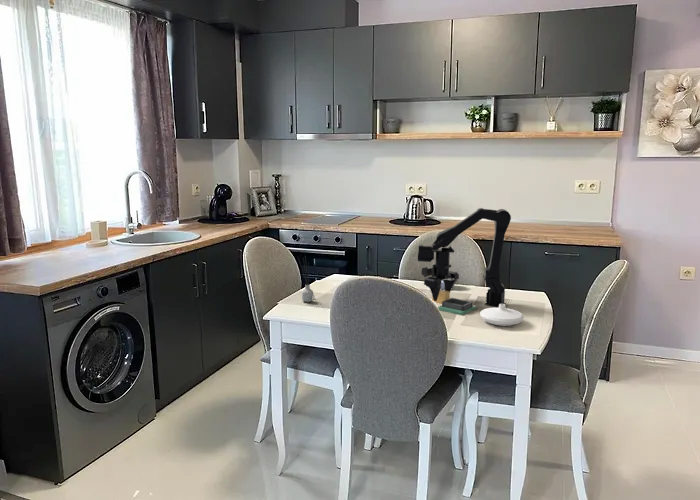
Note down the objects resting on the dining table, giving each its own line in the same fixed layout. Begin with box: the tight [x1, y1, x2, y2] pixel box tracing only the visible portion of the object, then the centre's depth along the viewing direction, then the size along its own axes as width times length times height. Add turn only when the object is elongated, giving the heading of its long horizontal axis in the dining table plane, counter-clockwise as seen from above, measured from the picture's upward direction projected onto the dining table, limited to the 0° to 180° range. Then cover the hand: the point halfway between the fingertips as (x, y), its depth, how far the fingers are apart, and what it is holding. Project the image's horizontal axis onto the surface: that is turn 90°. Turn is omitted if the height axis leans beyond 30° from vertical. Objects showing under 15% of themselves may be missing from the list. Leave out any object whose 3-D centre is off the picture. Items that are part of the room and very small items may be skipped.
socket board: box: [438, 297, 477, 316], centre depth 223 cm, size 11×12×3 cm
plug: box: [431, 289, 451, 305], centre depth 232 cm, size 6×4×5 cm, turn 50°
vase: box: [479, 304, 525, 327], centre depth 206 cm, size 16×16×7 cm
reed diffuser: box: [297, 255, 315, 303], centre depth 232 cm, size 10×7×20 cm
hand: (441, 298), depth 232 cm, fingers open, 9 cm apart
